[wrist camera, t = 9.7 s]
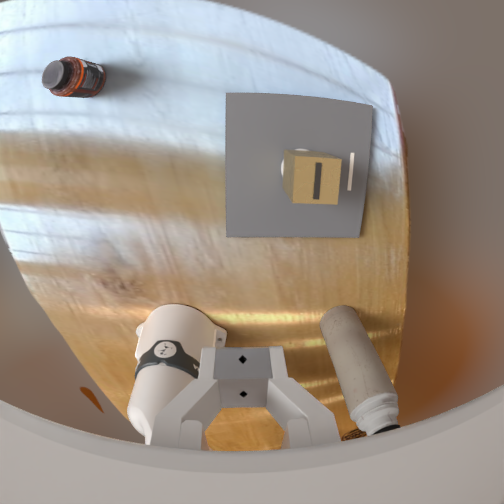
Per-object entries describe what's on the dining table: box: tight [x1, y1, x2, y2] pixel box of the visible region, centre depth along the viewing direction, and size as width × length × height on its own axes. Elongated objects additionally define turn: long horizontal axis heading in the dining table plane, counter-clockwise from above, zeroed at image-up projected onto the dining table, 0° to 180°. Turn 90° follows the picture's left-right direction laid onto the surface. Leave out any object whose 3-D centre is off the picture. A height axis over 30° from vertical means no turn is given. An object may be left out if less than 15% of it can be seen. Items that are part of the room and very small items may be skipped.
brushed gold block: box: [282, 150, 342, 205], centre depth 35 cm, size 6×6×8 cm
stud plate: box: [226, 93, 373, 238], centre depth 37 cm, size 22×22×10 cm
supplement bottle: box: [42, 57, 105, 98], centre depth 28 cm, size 6×6×11 cm
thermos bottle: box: [320, 306, 401, 436], centre depth 42 cm, size 8×8×28 cm
